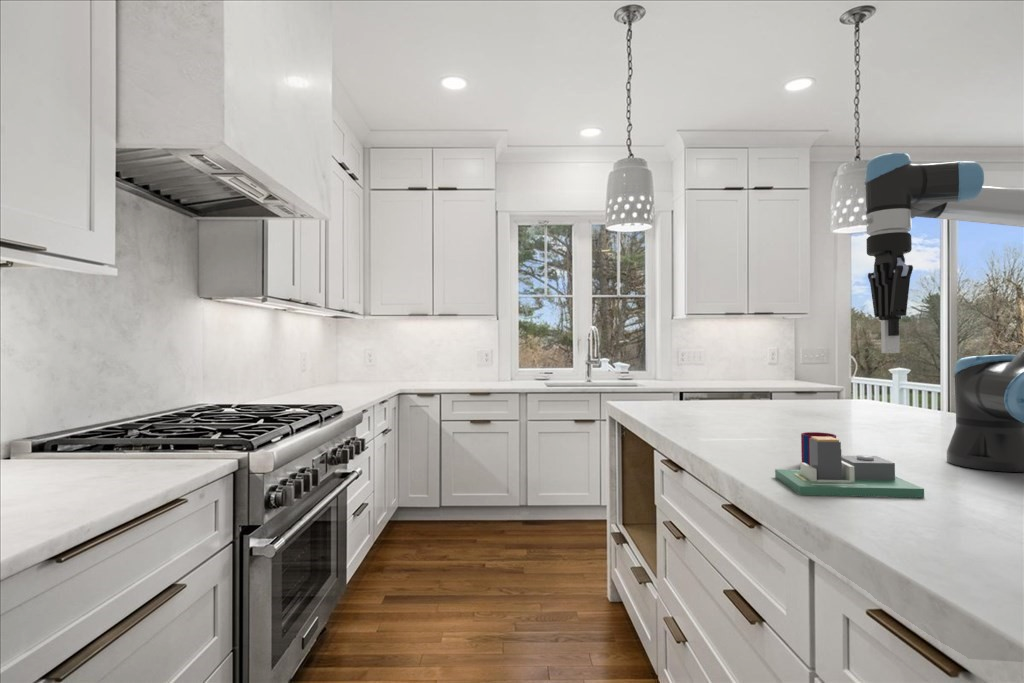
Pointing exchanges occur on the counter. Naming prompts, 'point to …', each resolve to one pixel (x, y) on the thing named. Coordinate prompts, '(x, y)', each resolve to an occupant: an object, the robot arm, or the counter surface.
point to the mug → (805, 444)
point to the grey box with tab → (871, 467)
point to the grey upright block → (826, 457)
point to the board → (845, 484)
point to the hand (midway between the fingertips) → (890, 352)
